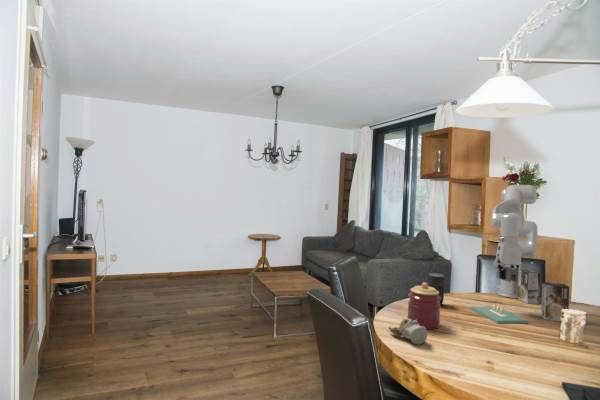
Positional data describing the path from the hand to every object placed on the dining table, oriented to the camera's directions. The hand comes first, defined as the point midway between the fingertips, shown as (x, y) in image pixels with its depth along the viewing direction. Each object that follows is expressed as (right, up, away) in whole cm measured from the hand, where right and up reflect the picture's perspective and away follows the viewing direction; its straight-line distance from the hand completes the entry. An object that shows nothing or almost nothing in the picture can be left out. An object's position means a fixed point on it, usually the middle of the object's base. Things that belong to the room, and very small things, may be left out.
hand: (507, 278), depth 181 cm
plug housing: (0, -1, 0) cm, 1 cm away
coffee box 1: (+22, -17, +21) cm, 35 cm away
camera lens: (-32, -15, +8) cm, 36 cm away
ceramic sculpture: (-57, -15, -39) cm, 71 cm away
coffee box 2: (+17, -17, -8) cm, 25 cm away
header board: (-8, -16, -6) cm, 19 cm away
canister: (-47, -15, -22) cm, 54 cm away
